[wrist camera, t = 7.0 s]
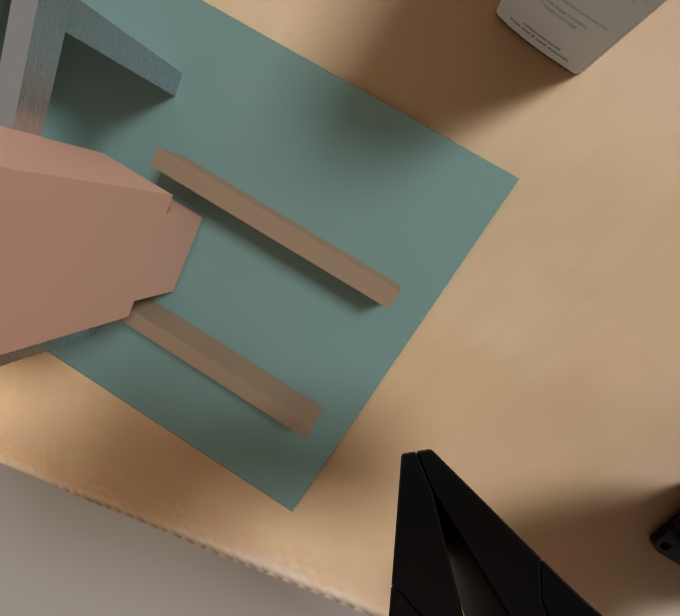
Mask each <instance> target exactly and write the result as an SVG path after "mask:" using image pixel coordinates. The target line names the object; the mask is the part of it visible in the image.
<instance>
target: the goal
mask: <svg viewBox="0 0 680 616" xmlns="http://www.w3.org/2000/svg"><path fill="white" fill-rule="evenodd" d="M65 32H66V33H68V34H69V35H71V36H73V37H74V38H76V39H78V40H79V41H81V42H83V43H85V44H86V45H88V46H90V47H91V48H93V49H95V50H97V51H98V52H100V53H102V54H103V55H105V56H107V57H109V58H110V59H112V60H114V61H115V62H117V63H119V64H120V65H122V66H124V67H126V68H127V69H129V70H131V71H132V72H134V73H136V74H138V75H139V76H141V77H143V78H144V79H146V80H148V81H150V82H151V83H153V84H155V85H156V86H158V87H160V88H161V89H163V90H165V91H167V92H168V93H170V94H172V95H173V96H175V95H176V92H177V89H178V86H179V83H180V80H181V77H182V74H183V73H181V72H180V71H179V70H177V69H176V68H174V67H173V66H172V65H170V64H169V63H167V62H166V61H165V60H163V59H162V58H160V57H159V56H158V55H156V54H155V53H153V52H152V51H151V50H149V49H148V48H146V47H145V46H144V45H142V44H141V43H139V42H138V41H137V40H135V39H134V38H132V37H131V36H130V35H128V34H127V33H125V32H124V31H123V30H121V29H120V28H118V27H117V26H116V25H114V24H113V23H111V22H110V21H109V20H107V19H106V18H104V17H103V16H101V15H100V14H99V13H97V12H96V11H94V10H93V9H92V8H90V7H89V6H87V5H86V4H85V3H83V2H82V1H80V0H0V126H2V127H6V128H10V129H14V130H17V131H21V132H25V133H29V134H33V135H36V136H40V137H42V132H43V128H44V123H45V119H46V115H47V110H48V106H49V101H50V97H51V93H52V88H53V84H54V79H55V75H56V71H57V66H58V62H59V58H60V53H61V49H62V44H63V40H64V36H65ZM97 328H98V326H96V327H92V328H89V329H86V330H82V331H79V332H76V333H72V334H69V335H65V336H62V337H59V338H55V339H52V340H49V341H45V342H42V343H39V344H35V345H32V346H29V347H25V348H22V349H19V350H15V351H12V352H9V353H5V354H2V355H0V366H3V365H6V364H9V363H12V362H15V361H18V360H21V359H24V358H27V357H30V356H33V355H36V354H39V353H42V352H45V351H48V350H51V349H55V348H58V347H61V346H64V345H67V344H70V343H73V342H76V341H79V340H82V339H85V338H88V337H91V336H94V335H95V334H96V331H97Z"/></svg>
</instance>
